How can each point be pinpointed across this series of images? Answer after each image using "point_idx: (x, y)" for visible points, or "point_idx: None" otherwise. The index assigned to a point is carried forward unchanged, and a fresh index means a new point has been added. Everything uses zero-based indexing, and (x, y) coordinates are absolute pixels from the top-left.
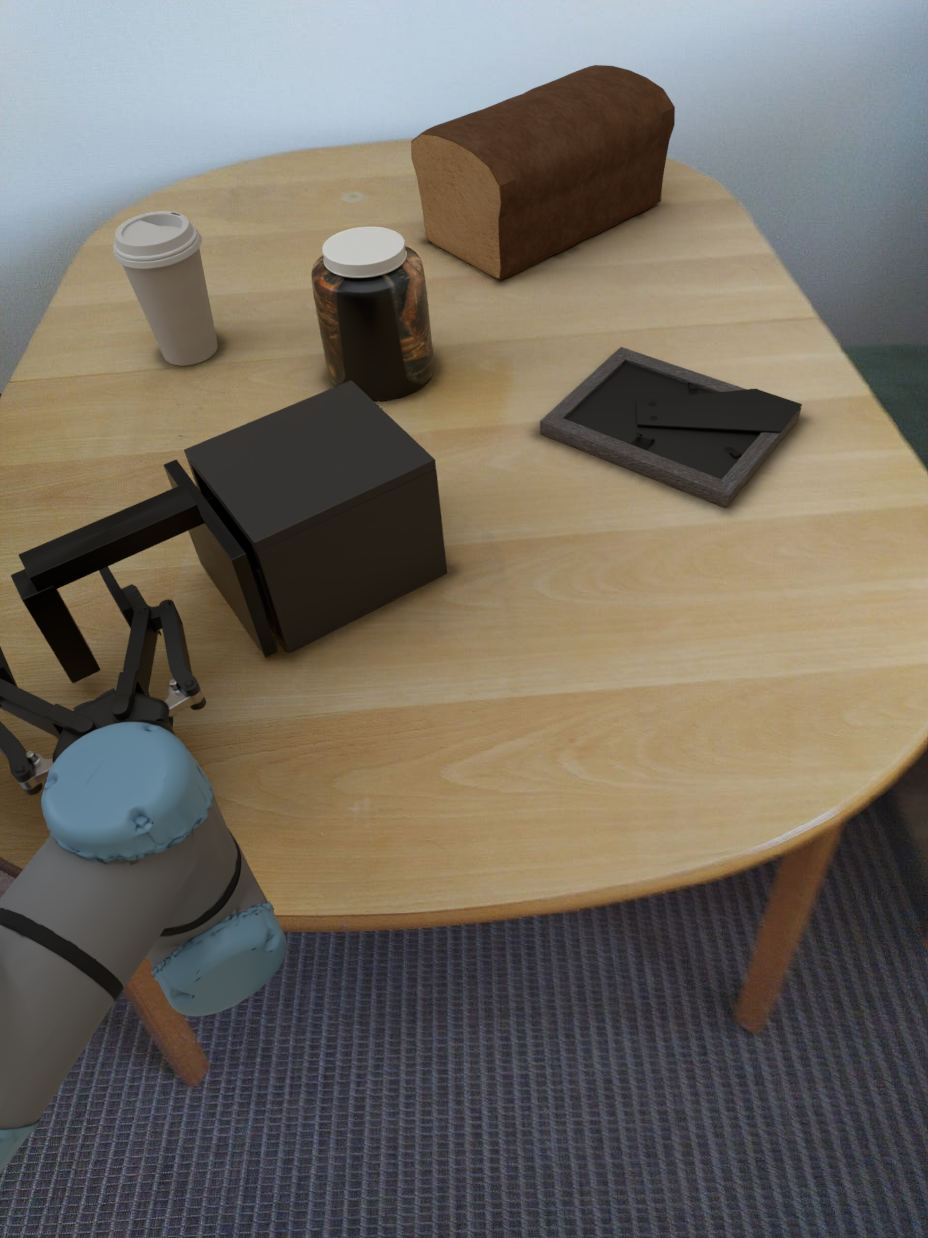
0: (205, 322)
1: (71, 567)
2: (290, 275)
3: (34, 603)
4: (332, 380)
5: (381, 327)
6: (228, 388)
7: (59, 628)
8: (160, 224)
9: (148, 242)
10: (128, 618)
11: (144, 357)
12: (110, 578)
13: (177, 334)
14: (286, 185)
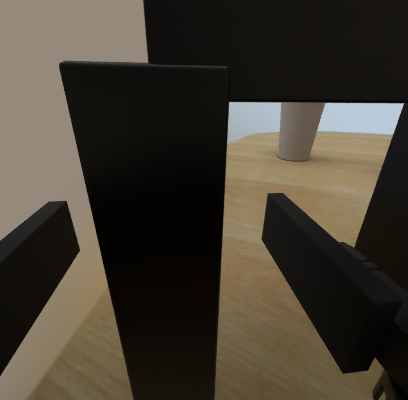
0: (312, 140)
1: (347, 3)
2: (339, 149)
3: (113, 122)
4: None
5: None
6: (320, 170)
7: (167, 281)
8: None
9: None
10: (367, 331)
11: (268, 156)
12: (301, 216)
13: (296, 140)
14: (324, 135)
